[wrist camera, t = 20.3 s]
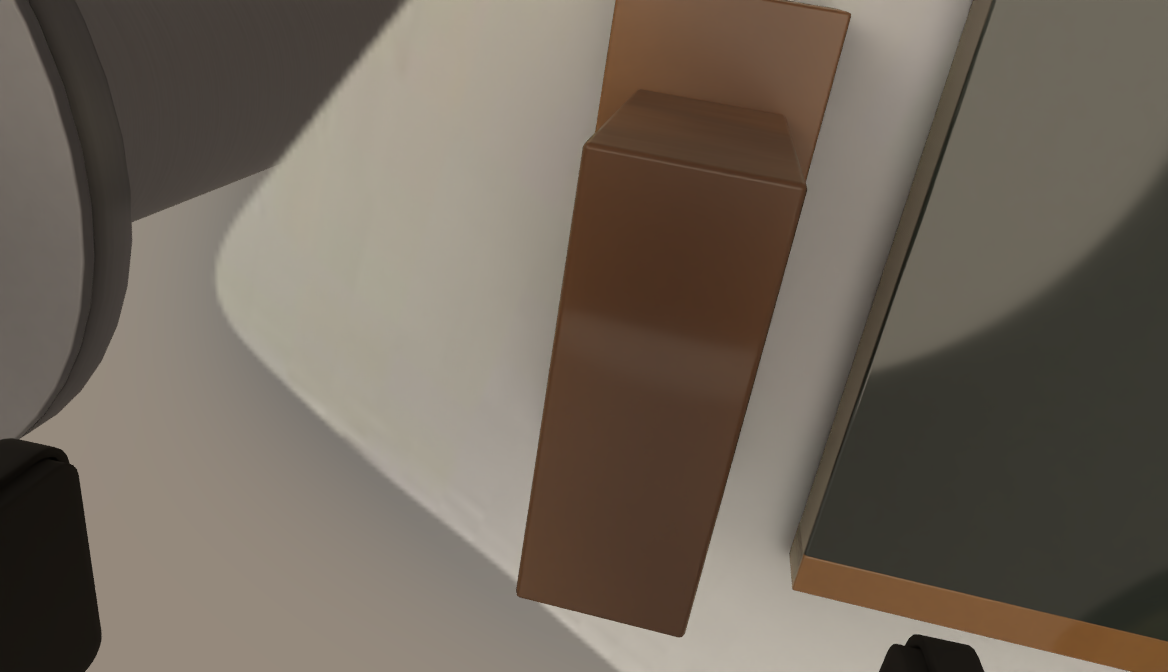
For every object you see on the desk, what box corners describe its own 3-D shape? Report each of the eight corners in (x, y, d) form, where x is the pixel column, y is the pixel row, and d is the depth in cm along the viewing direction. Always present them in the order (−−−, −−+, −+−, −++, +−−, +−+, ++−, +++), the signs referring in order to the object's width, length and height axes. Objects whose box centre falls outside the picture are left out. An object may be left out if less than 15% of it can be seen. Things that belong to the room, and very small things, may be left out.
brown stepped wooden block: (558, 439, 22) (465, 670, 15) (634, -26, 17) (551, -32, 10) (714, 475, 22) (699, 731, 14) (838, 9, 17) (914, 29, 9)
